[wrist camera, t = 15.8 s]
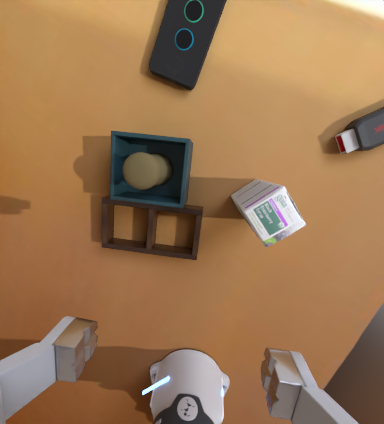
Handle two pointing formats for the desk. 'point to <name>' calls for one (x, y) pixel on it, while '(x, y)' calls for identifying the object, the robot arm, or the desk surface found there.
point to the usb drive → (362, 133)
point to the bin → (170, 146)
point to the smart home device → (185, 40)
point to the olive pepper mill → (147, 170)
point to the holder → (148, 230)
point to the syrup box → (268, 210)
